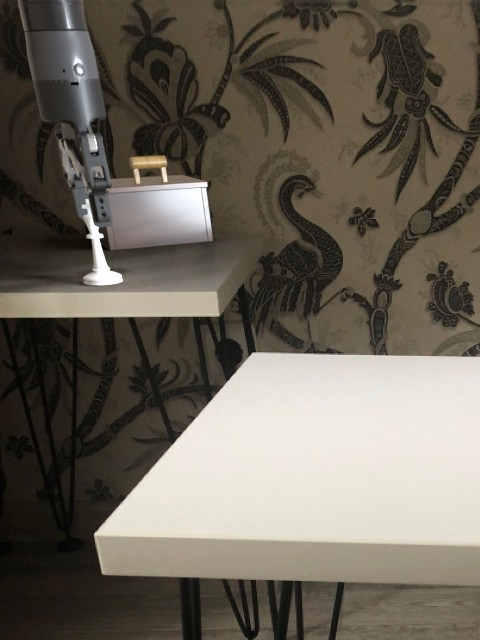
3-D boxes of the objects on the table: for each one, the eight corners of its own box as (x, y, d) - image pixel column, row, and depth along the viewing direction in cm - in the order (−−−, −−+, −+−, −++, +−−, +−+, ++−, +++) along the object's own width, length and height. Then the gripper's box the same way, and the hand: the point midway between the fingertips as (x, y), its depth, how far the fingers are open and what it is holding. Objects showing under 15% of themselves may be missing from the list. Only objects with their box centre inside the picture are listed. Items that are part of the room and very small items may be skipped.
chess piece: (91, 278, 122) (75, 197, 117) (128, 278, 122) (113, 196, 117) (77, 285, 118) (60, 201, 113) (115, 285, 118) (99, 201, 113)
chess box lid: (208, 187, 137) (204, 154, 134) (101, 194, 130) (95, 160, 128) (183, 180, 146) (178, 149, 144) (82, 186, 139) (76, 154, 137)
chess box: (214, 248, 142) (206, 187, 137) (112, 258, 135) (100, 194, 130) (191, 239, 150) (183, 180, 146) (94, 248, 143) (82, 186, 139)
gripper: (21, 77, 112) (53, 219, 120) (45, 77, 102) (78, 232, 110) (83, 75, 115) (110, 213, 124) (113, 75, 105) (140, 226, 113)
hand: (95, 222), depth 117 cm, fingers open, 8 cm apart
